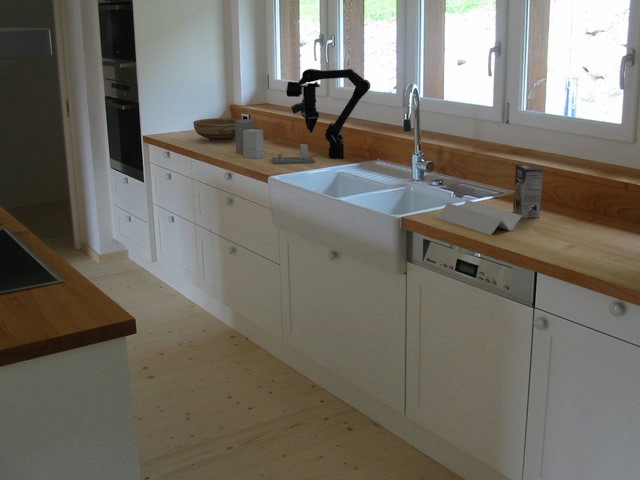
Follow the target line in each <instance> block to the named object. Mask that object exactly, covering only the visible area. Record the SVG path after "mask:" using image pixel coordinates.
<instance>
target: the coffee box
mask: <svg viewBox="0 0 640 480" xmlns="http://www.w3.org/2000/svg"><path fill="white" fill-rule="evenodd" d="M514 175H515V176H514V189H513V190H514V191H513V203H512V204H513V207H512V211H513V213H515V214H518V215H522V217H521V219H522V218H523V219H529V218H528V217H536V218H540V214H541V213H540V212H541V202H542V189H543V177H544V169H542V168H541V167H539V166H537V165H535V164H525V163H524V164H523V163H522V164H520V163H519V164H515V174H514Z"/></svg>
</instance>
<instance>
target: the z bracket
mask: <svg viewBox="0 0 640 480" xmlns="http://www.w3.org/2000/svg"><path fill="white" fill-rule="evenodd" d="M521 217H522V215H518V214H516V213H515V212H510V211H508V210H507V211H506V210H504V209H500V208H497V207H494V206H491V205H487V204H482V203H479V202H475V201H472V200H469V199H466V201H464V203H463V204H462V206H459V205H456V204H453V203H449V202H447V203H446V205H445V206H444V207H443V208H442V210H441V212H439V214H438V216H436V218H437V219H440V220H443V221H446V222H449V223H452V224H455V225H459V226H461V227H465V228H468V229H471V230H473V231H476V232H480V233H482V234H485V235H489V236H492V235H493V234H494V232H495V231H496V230H497V228H498V229H502V230H505V231H508V232H511V231H512V232H513V230H514V228H515V227H516V225H517V224H518V223H519V221H520V220H521V219H522V218H521Z"/></svg>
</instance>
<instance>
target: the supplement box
mask: <svg viewBox="0 0 640 480" xmlns="http://www.w3.org/2000/svg"><path fill="white" fill-rule="evenodd" d="M264 138H265V137H264V129H257V128H256V129H248V130H245V131H243V152H244V154H243V159H245V158H246V159H261V158H263V157H265V146H264V145H265V141H264V140H265V139H264Z"/></svg>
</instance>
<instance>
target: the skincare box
mask: <svg viewBox="0 0 640 480" xmlns="http://www.w3.org/2000/svg"><path fill="white" fill-rule="evenodd" d="M256 125H257V124H256V120H254V119H251V118H248V119H247V118H246V119H244V120H237V121H235V136H236V137H235V153H236V154H238V155H239V154H240V155H244V152H243V131H245V130H248V129H257V128H256Z"/></svg>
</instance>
